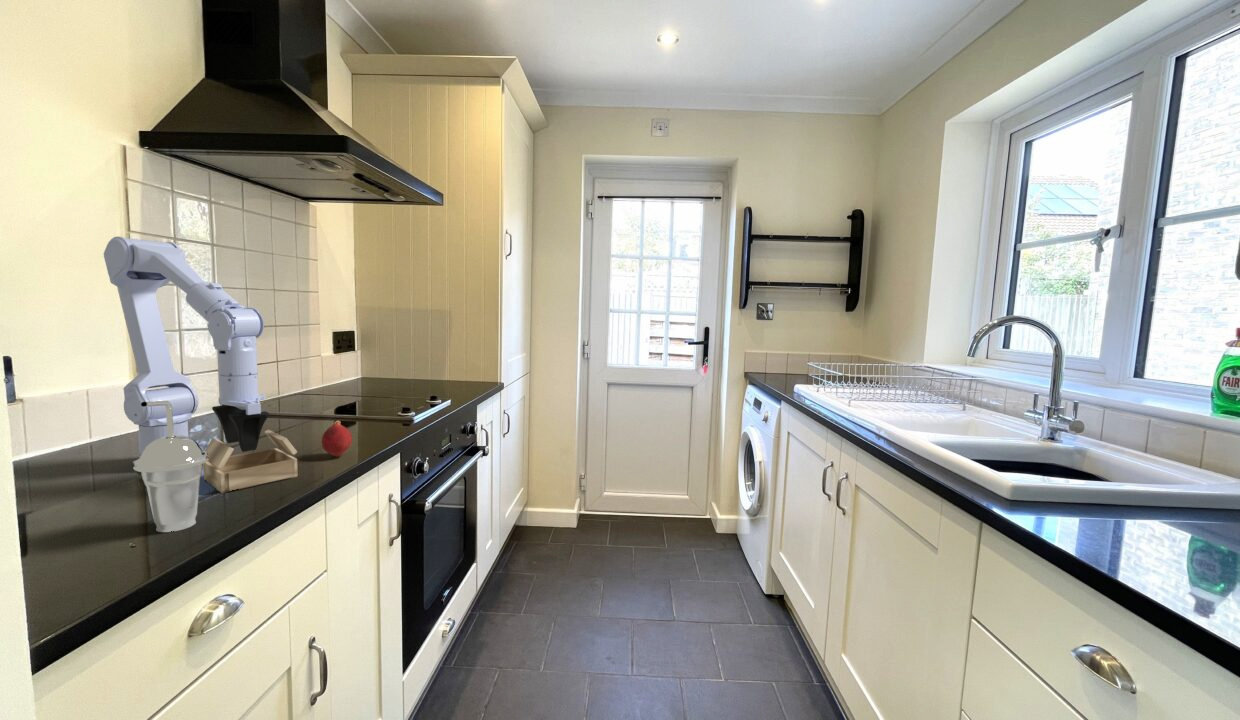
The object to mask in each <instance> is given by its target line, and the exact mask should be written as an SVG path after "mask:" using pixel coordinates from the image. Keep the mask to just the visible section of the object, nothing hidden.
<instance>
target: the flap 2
mask: <svg viewBox="0 0 1240 720" xmlns="http://www.w3.org/2000/svg"><path fill="white" fill-rule="evenodd" d="M264 434H265V435H266V436H267V437H268V438H269V440H270V441H271V442H272V443H273V445H275V446H276V448H277V447H278V449H279V448H280V450H281V449H282V451H284V452H287V453H288V454H290V455H292V456H294V455H296V454H297V453H298V451H297V449H296V448H295V447H294V446H293V445H292V443H291V442H290V440H289V439H288V438H287V437H285V436H283V435H281V434H279V433H276V432H275V431H272V429H271V430H270V429H267V430H265V431H264Z"/></svg>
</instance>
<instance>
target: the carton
mask: <svg viewBox="0 0 1240 720" xmlns="http://www.w3.org/2000/svg"><path fill="white" fill-rule="evenodd" d="M202 472H203V480H204V481H205V480H206V481H207V482H206V481H205V482H206V483H208V484H209V483H210V484H211V485H210V484H209V485H210V486H211V487H213V488H214V487H215V488H216V489H215V490H216V491H218V492H219V493H220V494H225V492H226V493H229V492H228V491H230V492H233V491H232V490H235V491H237V490H236V489H239V490H243V489H247V488H252V487H257V486H261V485H265V484H270V483H274V482H280V481H283V480H288V479H293V478H298V472H299V471H298V458H296V457H294V455H292V454H290V453H288V452H287V453H286V451H284V450H281V449H279V448H277V447H275V448H267V449H261V450H254V451H248V452H245V453H244V452H243V453H239V454H231V455H230V457H229V459H228V460H227V462H226V464H225V465H224V467H223V469H222V468H218V467H216V466H215V465H213V464H212V463H211V462H209V461H207V462H205V463H203V471H202Z"/></svg>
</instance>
